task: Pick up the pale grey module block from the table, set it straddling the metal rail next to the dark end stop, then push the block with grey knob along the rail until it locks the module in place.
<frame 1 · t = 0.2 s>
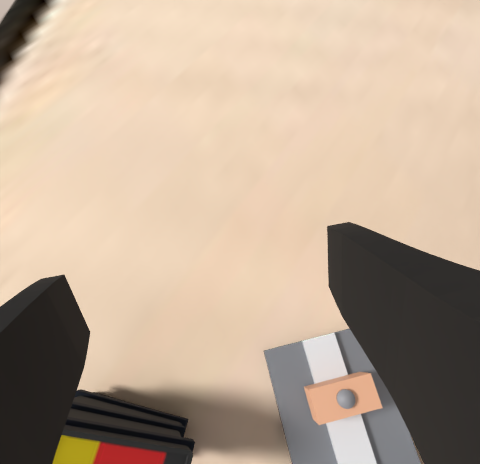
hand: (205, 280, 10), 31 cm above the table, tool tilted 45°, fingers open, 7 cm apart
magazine: (144, 423, 37), on the table
din rail: (346, 437, 36), on the table
block with grey knob: (341, 396, 33), point 4 cm above the table, slide at 6.0 cm
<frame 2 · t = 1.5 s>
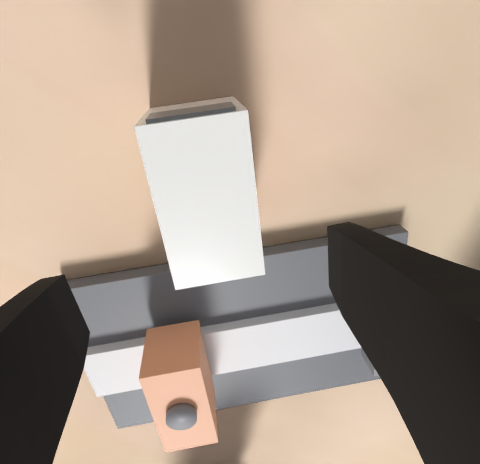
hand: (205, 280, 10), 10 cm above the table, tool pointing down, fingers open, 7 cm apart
module: (204, 172, 18), on the table
din rail: (246, 329, 23), on the table
block with grey knob: (182, 388, 20), point 4 cm above the table, slide at 6.0 cm
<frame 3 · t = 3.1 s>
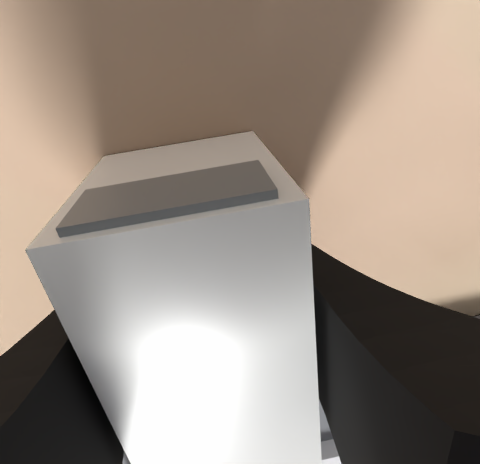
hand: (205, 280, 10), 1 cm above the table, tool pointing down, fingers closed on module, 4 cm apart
module: (203, 254, 11), on the table, touching gripper
din rail: (269, 453, 16), on the table
when the fingers open (3 cm above the table, at t = 6.4 s): module stays where it is, resting on din rail.
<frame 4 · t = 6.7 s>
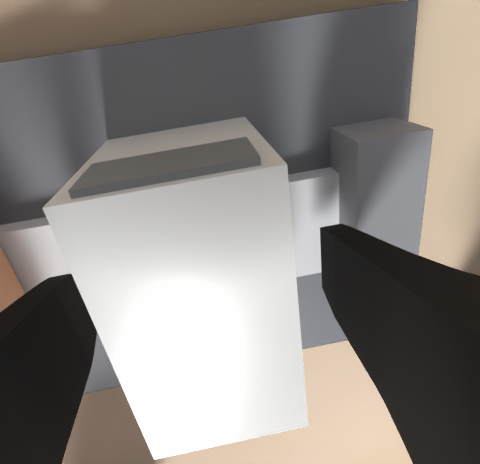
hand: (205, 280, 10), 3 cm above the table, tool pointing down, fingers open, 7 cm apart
module: (200, 234, 12), point 1 cm above the table, touching din rail
din rail: (118, 241, 13), on the table
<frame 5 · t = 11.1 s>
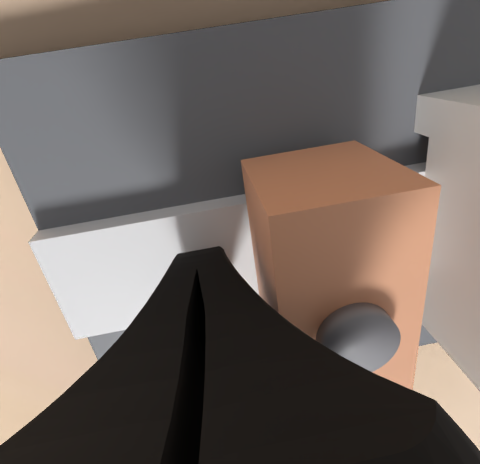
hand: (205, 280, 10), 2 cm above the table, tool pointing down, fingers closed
module: (466, 199, 11), point 1 cm above the table, touching din rail
din rail: (363, 210, 12), on the table
block with grey knob: (327, 289, 9), point 4 cm above the table, slide at 4.4 cm, touching gripper
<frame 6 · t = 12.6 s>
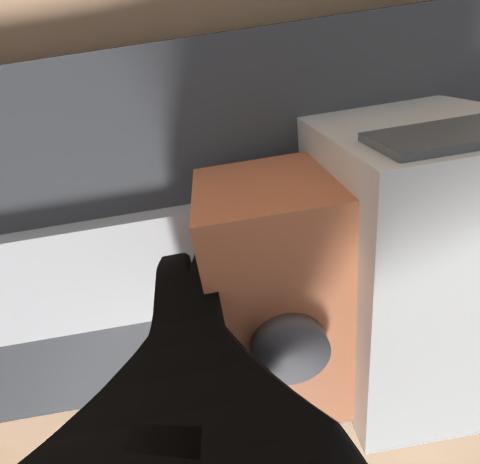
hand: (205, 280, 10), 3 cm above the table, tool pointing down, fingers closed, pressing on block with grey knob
module: (364, 220, 11), point 1 cm above the table, touching block with grey knob, din rail
din rail: (195, 240, 12), on the table
block with grey knob: (274, 297, 9), point 4 cm above the table, slide at -0.2 cm, touching gripper, module
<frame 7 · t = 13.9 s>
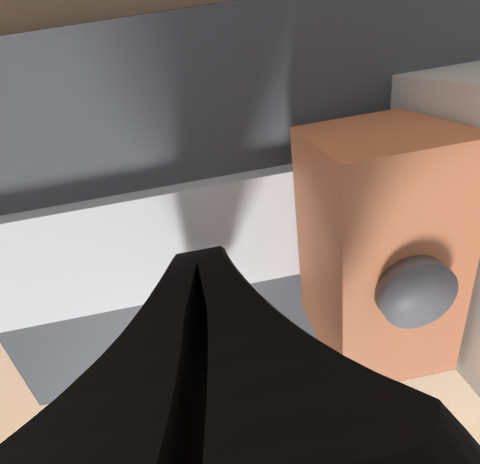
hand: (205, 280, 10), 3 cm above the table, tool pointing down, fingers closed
module: (444, 181, 11), point 1 cm above the table, touching din rail
din rail: (273, 206, 12), on the table
block with grey knob: (375, 251, 9), point 4 cm above the table, slide at 0.0 cm
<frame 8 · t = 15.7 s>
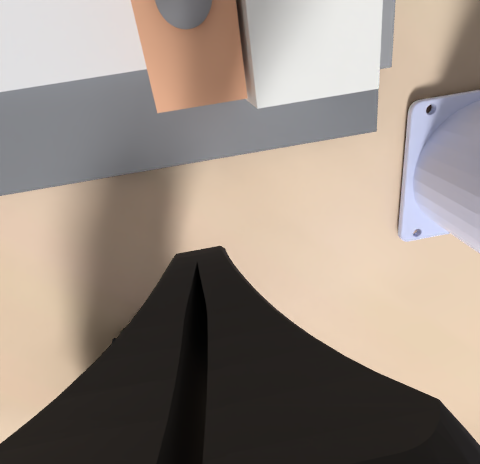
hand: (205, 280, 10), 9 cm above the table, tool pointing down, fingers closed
din rail: (142, 21, 15), on the table
block with grey knob: (184, 4, 11), point 4 cm above the table, slide at 0.0 cm
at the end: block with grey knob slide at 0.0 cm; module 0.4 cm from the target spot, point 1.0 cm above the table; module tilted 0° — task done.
